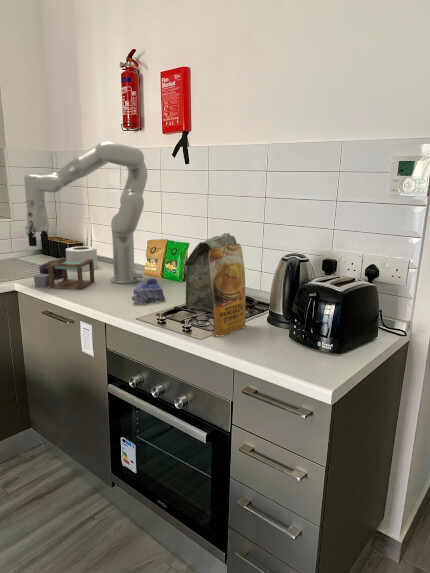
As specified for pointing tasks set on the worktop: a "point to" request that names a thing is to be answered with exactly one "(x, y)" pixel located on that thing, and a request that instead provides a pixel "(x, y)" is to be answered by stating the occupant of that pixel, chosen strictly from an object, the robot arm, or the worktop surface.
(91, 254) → the toilet paper roll
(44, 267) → the rock
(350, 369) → the worktop surface
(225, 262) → the pancake mix bag
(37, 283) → the gray cube
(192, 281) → the bag
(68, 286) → the frame
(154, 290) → the mineral
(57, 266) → the trapdoor
